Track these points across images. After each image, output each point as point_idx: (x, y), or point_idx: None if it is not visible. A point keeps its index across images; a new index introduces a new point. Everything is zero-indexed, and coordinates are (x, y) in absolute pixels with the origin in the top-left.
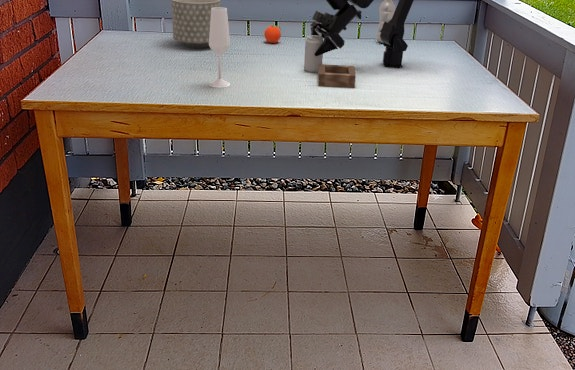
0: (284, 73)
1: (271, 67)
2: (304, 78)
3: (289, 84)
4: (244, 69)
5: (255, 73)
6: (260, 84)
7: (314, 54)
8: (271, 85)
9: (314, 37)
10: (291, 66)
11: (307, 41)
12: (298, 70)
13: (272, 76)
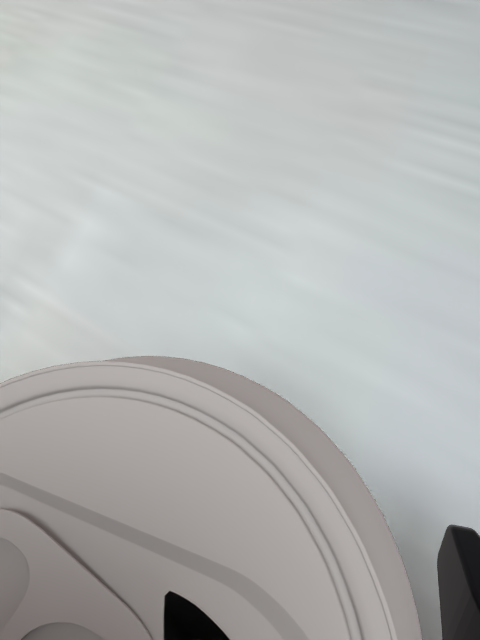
0: (262, 228)
1: (476, 198)
2: (73, 315)
3: (19, 159)
4: (469, 7)
5: (341, 45)
6: (110, 15)
7: None
8: (62, 61)
9: (9, 624)
10: (463, 389)
11: (117, 360)
12: (302, 384)
13: (226, 122)
